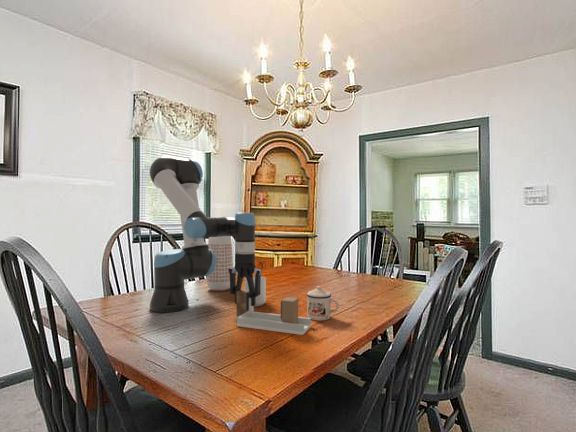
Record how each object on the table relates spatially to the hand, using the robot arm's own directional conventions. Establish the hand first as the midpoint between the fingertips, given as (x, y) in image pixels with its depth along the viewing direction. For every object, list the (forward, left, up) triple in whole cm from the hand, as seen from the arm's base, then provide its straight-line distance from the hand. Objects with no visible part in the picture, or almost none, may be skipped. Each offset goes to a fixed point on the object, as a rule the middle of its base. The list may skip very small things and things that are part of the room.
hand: (245, 313), depth 137 cm
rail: (+16, -9, 0) cm, 18 cm away
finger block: (0, 0, 0) cm, 0 cm away
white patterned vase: (-32, +34, -1) cm, 47 cm away
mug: (-3, +17, -1) cm, 17 cm away
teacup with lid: (+29, +7, -1) cm, 30 cm away
